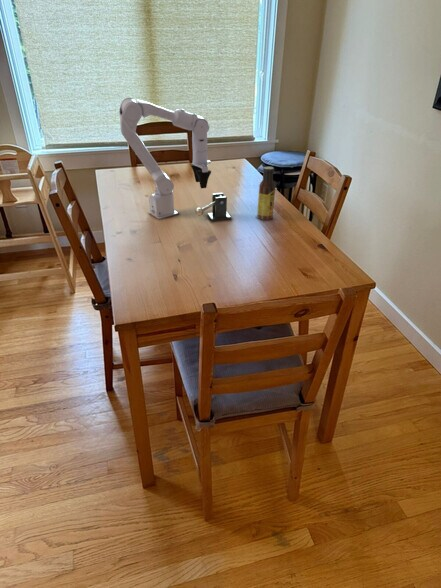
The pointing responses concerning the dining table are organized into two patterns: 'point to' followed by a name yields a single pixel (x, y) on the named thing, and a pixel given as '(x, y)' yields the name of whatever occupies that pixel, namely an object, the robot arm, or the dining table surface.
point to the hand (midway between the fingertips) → (200, 184)
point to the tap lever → (200, 210)
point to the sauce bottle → (266, 195)
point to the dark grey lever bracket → (219, 208)
